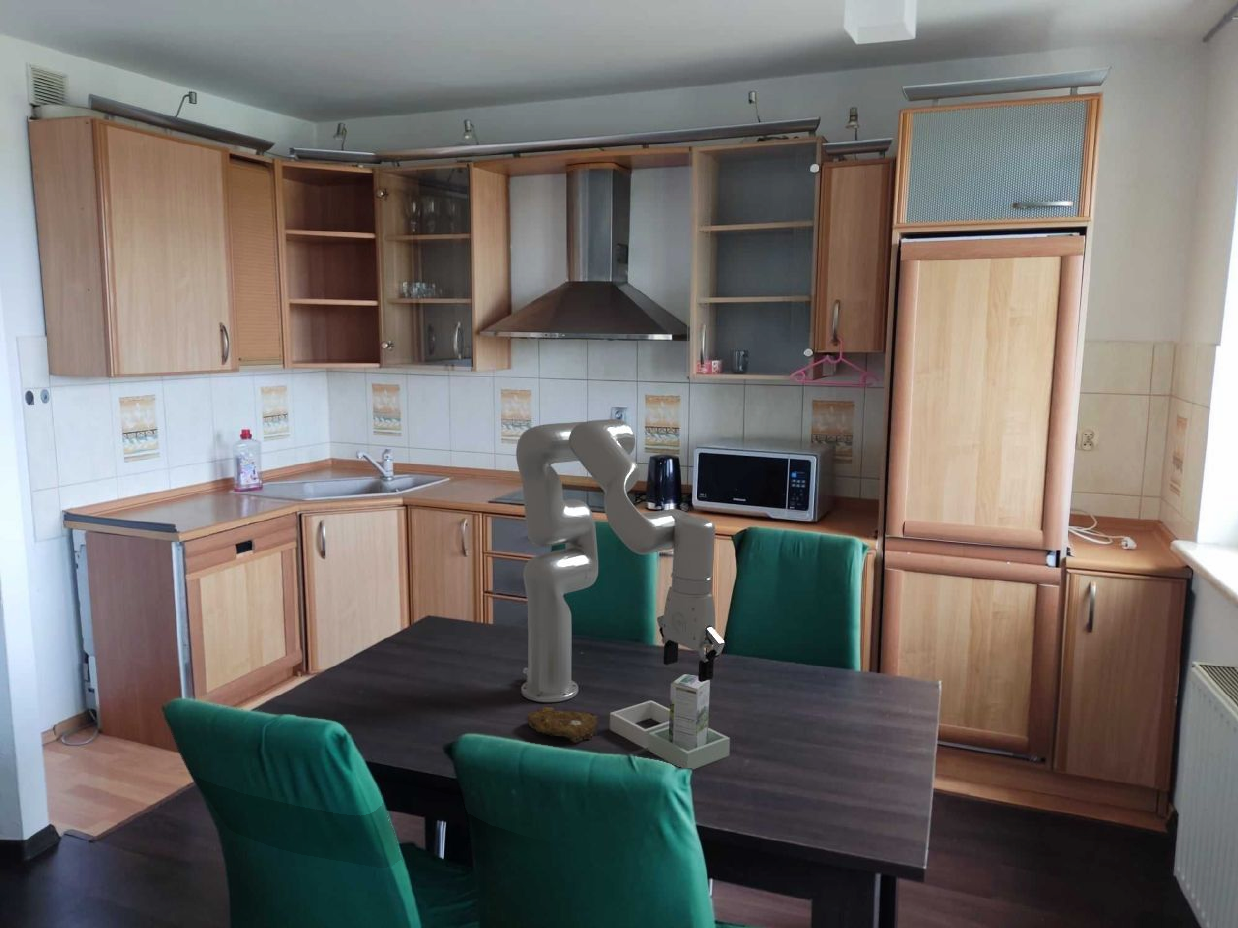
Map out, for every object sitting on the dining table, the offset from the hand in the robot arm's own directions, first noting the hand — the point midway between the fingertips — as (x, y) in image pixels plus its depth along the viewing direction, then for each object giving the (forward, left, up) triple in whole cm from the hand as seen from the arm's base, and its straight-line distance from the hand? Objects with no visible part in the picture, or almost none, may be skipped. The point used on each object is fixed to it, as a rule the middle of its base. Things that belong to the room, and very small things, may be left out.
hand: (687, 671), depth 174 cm
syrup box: (+1, 0, -16) cm, 16 cm away
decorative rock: (-22, -14, -17) cm, 31 cm away
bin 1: (-11, 0, -16) cm, 20 cm away
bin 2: (+1, 0, -16) cm, 16 cm away
